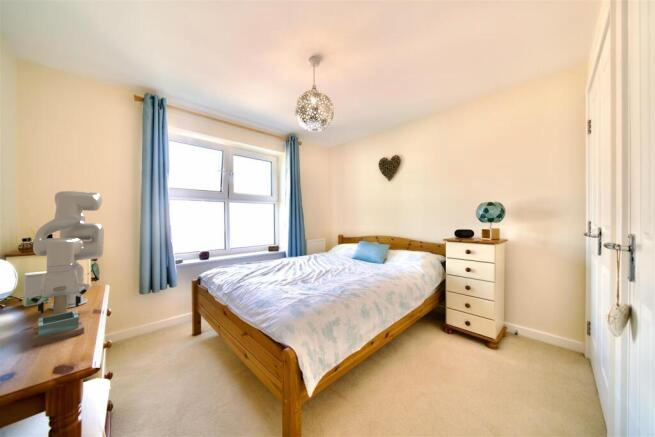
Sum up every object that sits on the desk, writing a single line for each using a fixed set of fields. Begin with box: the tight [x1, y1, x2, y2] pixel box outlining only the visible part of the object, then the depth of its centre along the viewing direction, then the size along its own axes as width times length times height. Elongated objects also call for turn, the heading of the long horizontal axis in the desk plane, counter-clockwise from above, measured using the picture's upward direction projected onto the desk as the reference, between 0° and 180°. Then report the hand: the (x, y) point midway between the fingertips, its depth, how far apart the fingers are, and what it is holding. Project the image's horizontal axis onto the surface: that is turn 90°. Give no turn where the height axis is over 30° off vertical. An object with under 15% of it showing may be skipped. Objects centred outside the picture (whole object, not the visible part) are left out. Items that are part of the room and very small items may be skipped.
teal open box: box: [32, 309, 85, 348], centre depth 86 cm, size 14×12×6 cm
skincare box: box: [22, 270, 51, 308], centre depth 115 cm, size 8×7×16 cm
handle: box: [52, 286, 68, 315], centre depth 96 cm, size 5×6×15 cm
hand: (60, 308), depth 96 cm, fingers open, 9 cm apart
